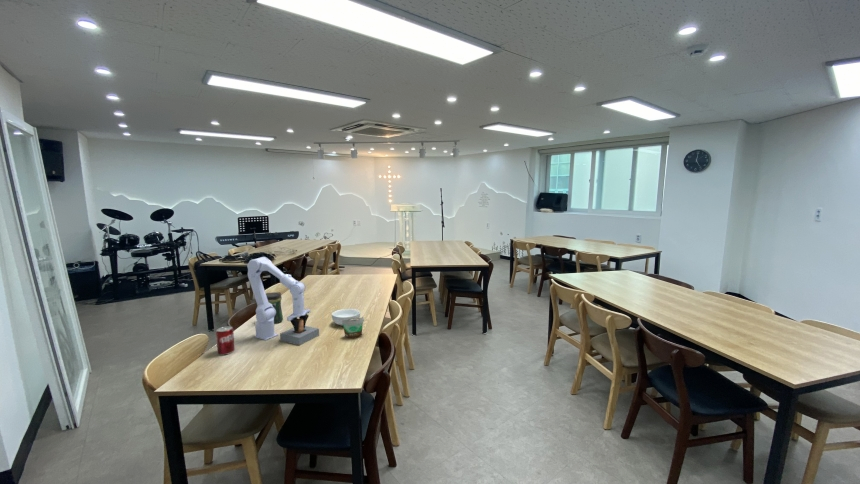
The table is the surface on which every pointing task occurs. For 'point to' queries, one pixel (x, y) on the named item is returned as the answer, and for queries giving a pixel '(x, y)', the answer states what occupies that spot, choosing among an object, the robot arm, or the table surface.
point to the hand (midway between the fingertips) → (299, 329)
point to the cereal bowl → (345, 315)
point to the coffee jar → (276, 305)
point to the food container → (353, 327)
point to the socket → (299, 335)
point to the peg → (300, 326)
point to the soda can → (225, 340)
